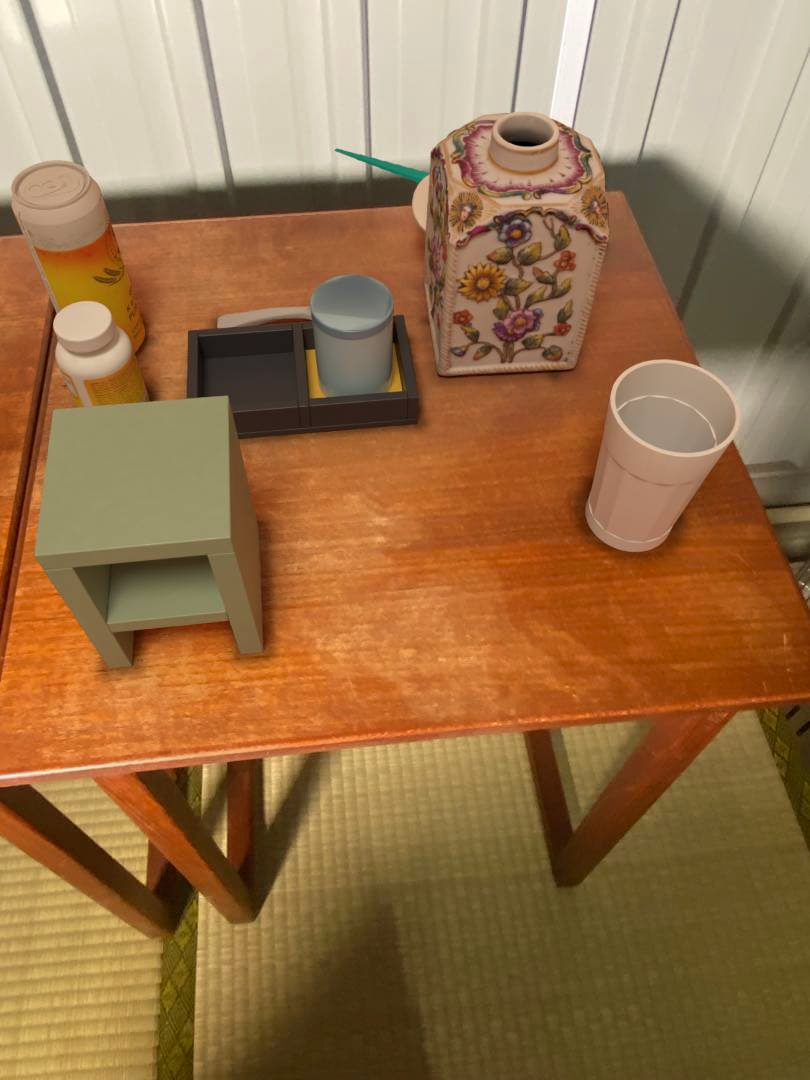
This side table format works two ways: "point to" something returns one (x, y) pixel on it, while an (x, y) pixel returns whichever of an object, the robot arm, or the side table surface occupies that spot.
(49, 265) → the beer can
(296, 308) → the spoon
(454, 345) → the decorative jar
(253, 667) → the side table surface
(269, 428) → the tray
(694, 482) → the cup
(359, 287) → the blue grey cylinder
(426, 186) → the beige rounded piece
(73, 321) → the supplement bottle
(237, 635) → the shelf
